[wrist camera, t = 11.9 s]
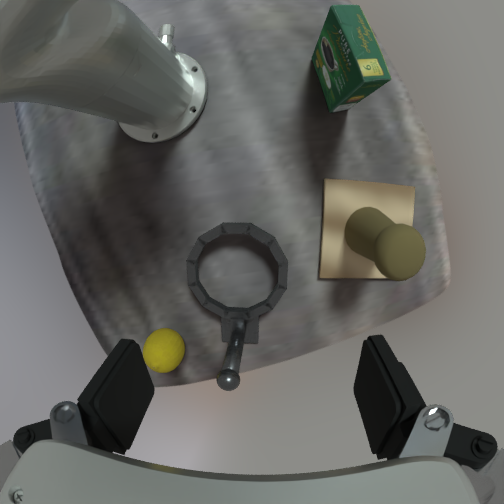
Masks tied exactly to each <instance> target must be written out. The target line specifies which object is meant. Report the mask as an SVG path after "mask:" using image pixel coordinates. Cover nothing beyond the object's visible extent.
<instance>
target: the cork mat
mask: <svg viewBox="0 0 504 504" xmlns="http://www.w3.org/2000/svg"><path fill="white" fill-rule="evenodd" d="M414 198H415V187H411V186H403V185H395V184H386V183H376V182H365V181H353V180H340V179H324V199H323V222H322V240H321V255H320V268H319V277H320V278H386V277H385V276H384V275H382V274H381V273H380V271H379V270H378V269H377V267H376V265H375V262H373V261H371V260H369V259H367V258H365V257H363V256H361V255H359V254H357V253H356V252H354V251H353V250H351V248H350V247H349V246H348V244H347V242H346V239H345V226H346V222H347V220H348V219H349V217H350V215H351V214H352V213H354V212H355V211H356V210H358V209H360V208H363V207H373V208H376V209H378V210H380V211H381V212H382V213H384V214H385V215H386V216H387V217H388V218H390V219H391V220H392V221H393V222H395V223H396V224H402V223H403V224H406V225H409V226H412V223H413V212H414Z"/></svg>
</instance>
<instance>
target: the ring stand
mask: <svg viewBox="0 0 504 504" xmlns="http://www.w3.org/2000/svg"><path fill="white" fill-rule="evenodd" d="M224 233H231V234H249V235H250V236H252V237H254V238H255V239H257V240H259V241H261V242H262V243H264V244H266V245H267V246H268V247H269V249H270V251H271V252H272V254H273V256H274V258H275V259H276V261H277V263H278V283H277V285H276V286H275V288H274V289H273V291H272V292H271V294H270V295H269V296H268V298H267V299H266V300H264V301H262V302H260V303H258V304H256V305H254V306H251V307H249V308H238V307H227V306H225V305H223V304H222V303H220V302H218V301H216V300H214V299H213V298H211V297H210V296H209V295H208V293H207V292H206V290H205V289H204V287H203V286H202V284H201V283H200V281H199V276H198V258H199V256H200V254H201V252H202V251H203V249H204V247H205V245H206V243H208V242H210V241H212V240H213V239H215V238H217V237H219V236H220V235H222V234H224ZM287 271H288V260H287V258H286V257H285V255H284V253H283V251H282V249H281V248H280V246H279V244H278V242H277V241H276V239H275V237H274V236H272V235H271V234H269V233H267V232H265V231H264V230H262V229H260V228H259V227H257V226H255V225H253V224H252V223H224V222H223V223H222V224H220V225H218V226H216V227H215V228H213V229H211V230H210V231H208V232H206V233H205V234H203V235H201V236H200V237H199V238H198V239H197V241H196V243H195V245H194V247H193V249H192V251H191V253H190V255H189V257H188V259H187V274H188V286H189V287H190V288H191V290H192V291H193V293H194V294H195V296H196V297H197V299H198V300H199V302H200V303H201V305H202V306H203V307H205V308H207V309H208V310H210V311H212V312H214V313H216V314H217V315H219V316H221V328H222V342H229V344H228V348H227V352H226V356H225V360H224V363H223V367H222V371H220V372H219V374H218V375H217V384H218V385H219V387H220V388H221V389H223V390H226V391H231V390H234V389H236V388H237V387H238V386H239V384H240V376H239V374H238V373H239V368H240V362H241V356H242V351H243V345H244V343H258V332H259V315H261V314H263V313H265V312H267V311H270V310H272V309H273V308H274V306H275V305H276V303H277V302H278V301H279V299H280V298H281V296H282V295H283V293H284V292H285V290H286V289H287Z"/></svg>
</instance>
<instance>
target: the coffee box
mask: <svg viewBox="0 0 504 504" xmlns="http://www.w3.org/2000/svg"><path fill="white" fill-rule="evenodd" d="M312 61H313V64H314V67H315V70H316V72H317V75H318V78H319V81H320V84H321V87H322V90H323V93H324V96H325V99H326V103H327V106H328V109H329V112H330V113H333V112H338V111H343V110H348V109H350V108H351V107H353V106H354V105H355V104H357V103H358V102H360V101H361V100H362V99H364V98H365V97H367V96H368V95H370V94H371V93H372V92H374V91H375V90H377V89H378V88H380V87H381V86H383V85H384V84H385V83H387V82H388V81H390V80H391V76H390V73H389V70H388V68H387V65H386V63H385V60H384V58H383V55H382V53H381V50H380V48H379V45H378V43H377V41H376V38H375V36H374V34H373V32H372V30H371V28H370V25H369V23H368V21H367V19H366V17H365V15H364V14H363V12H362V10H361V8H360V6H359V5H332V6H331V7H330V10H329V12H328V15H327V18H326V21H325V23H324V26H323V29H322V31H321V34H320V37H319V40H318V42H317V45H316V47H315V50H314V53H313V56H312Z"/></svg>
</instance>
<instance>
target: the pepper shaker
mask: <svg viewBox="0 0 504 504" xmlns="http://www.w3.org/2000/svg"><path fill="white" fill-rule="evenodd" d="M345 239H346V242H347V244H348V246H349V247H350V248H351V250H353V251H354V252H356V253H357V254H359V255H361V256H363V257H365V258H367V259H369V260H371V261H373V262H375V265H376V267H377V269H378V270H379V271H380V273H381V274H382V275H384V276H385V277H386V278H388V279H391V280H395V281H403V280H407V279H409V278H411V277H413V276H414V275H415V274H416V273H418V272H419V270H420V269H421V267H422V266H423V263H424V260H425V253H426V248H425V243H424V240H423V238H422V236H421V234H420V233H419V232H418V231H417V230H416V229H415V228H413V227H412V226H409V225H406V224H403V223H402V224H396V223H395V222H393V221H392V220H391V219H390V218H388V217H387V216H386V215H385V214H384V213H382V212H381V211H380V210H378V209H376V208H373V207H363V208H360V209H358V210H356V211H355V212H354V213H352V214H351V215H350V217H349V219H348V220H347V222H346V226H345Z"/></svg>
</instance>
